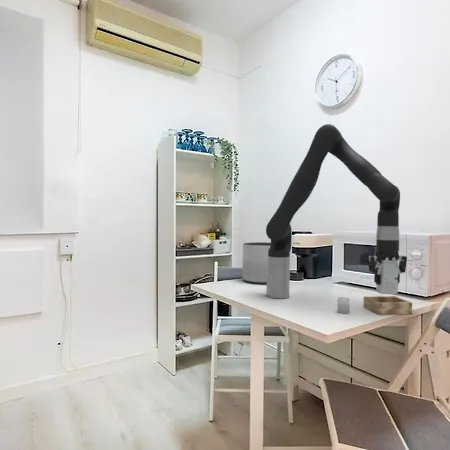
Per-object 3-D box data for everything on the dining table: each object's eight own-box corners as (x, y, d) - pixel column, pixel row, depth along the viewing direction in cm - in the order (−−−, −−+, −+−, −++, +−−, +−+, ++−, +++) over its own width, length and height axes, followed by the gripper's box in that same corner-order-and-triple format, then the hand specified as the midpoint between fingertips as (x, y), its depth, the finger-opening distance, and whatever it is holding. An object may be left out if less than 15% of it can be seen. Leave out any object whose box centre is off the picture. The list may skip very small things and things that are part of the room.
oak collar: (378, 314, 117) (378, 303, 117) (363, 307, 128) (363, 296, 127) (412, 314, 118) (412, 302, 118) (394, 306, 129) (394, 296, 129)
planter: (233, 280, 181) (233, 243, 181) (261, 276, 196) (261, 241, 196) (265, 287, 165) (266, 246, 164) (293, 281, 180) (293, 244, 180)
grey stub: (340, 314, 118) (340, 299, 118) (335, 310, 122) (335, 297, 122) (351, 313, 119) (351, 299, 118) (346, 310, 123) (346, 297, 122)
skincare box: (383, 294, 120) (384, 260, 120) (375, 291, 124) (376, 259, 124) (398, 293, 121) (399, 260, 121) (389, 291, 126) (390, 258, 125)
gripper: (374, 239, 118) (373, 286, 118) (412, 239, 119) (412, 286, 120) (363, 238, 126) (363, 282, 126) (399, 238, 127) (399, 282, 127)
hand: (386, 284), depth 123 cm, fingers closed on skincare box, 6 cm apart
